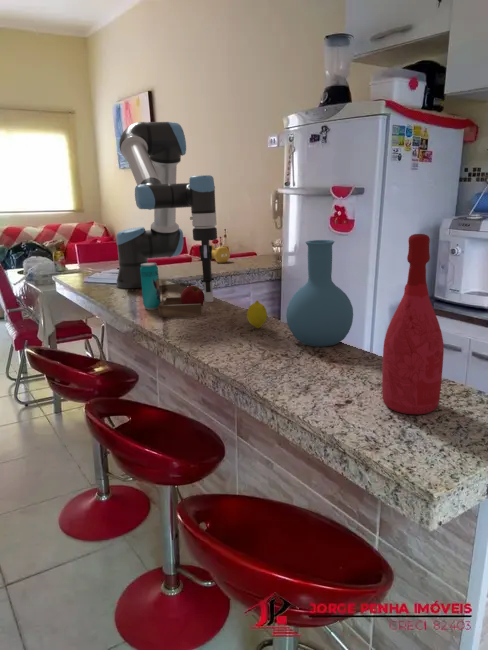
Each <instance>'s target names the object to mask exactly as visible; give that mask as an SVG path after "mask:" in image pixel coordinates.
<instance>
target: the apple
mask: <svg viewBox="0 0 488 650" xmlns="http://www.w3.org/2000/svg"><path fill="white" fill-rule="evenodd" d="M180 297H181V303H182V304H201V306H202V304H203V305H204V302H205V297H204V290H202V289H201V288H200V287H198V286H196V285H189V286H186V287H185V288H183V290H182V291H181V293H180Z"/></svg>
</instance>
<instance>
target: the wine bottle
mask: <svg viewBox="0 0 488 650" xmlns="http://www.w3.org/2000/svg"><path fill="white" fill-rule="evenodd" d="M430 242H431V241H430V237H429V235H427V234H425V233H413V234H411V235H410V236H409V238H408V253H407V256H406V259H407V262H408V264H409V267H408V274H407V281H406V282H407V283H406V284H405V286H404V290H403V291H404V293H403V296H402V298H401V300H400V303H399V304H398V306H397V308H396V309H395V312H394V313H393V316H392V318H391V320H390V322H389V325H388V327H387V330H386V333H385V336H384V341H383V349H382V351H383V353H382V372H381V373H382V382H381V383H382V386H381V387H382V392H381V395H382V401H383V404H384V405H385V406H387V407H388V408H389V409H390V410H392V411H395V412H397V413H400V414H406V415H425V414H429V413H431V412H433V411H435V410H436V409H437V407H438V406H439V402H440V397H441V390H442V389H441V387H442V379H443V378H442V377H443V367H444V350H445V349H444V345H445V344H444V336H443V333H442V329H441V326H440V323H439V320H438V317H437V315H436V312H435V310H434V307H433V304H432V302H431V299H430V296H429V290H428V289H429V288H428V283H427V266H426V265H427V263H428V262H430V260H431V256H430Z"/></svg>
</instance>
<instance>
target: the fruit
mask: <svg viewBox="0 0 488 650" xmlns="http://www.w3.org/2000/svg"><path fill="white" fill-rule="evenodd" d="M246 318H247V321H248V322H249V324H250V325H251V326H254V327H255V328H256V329H261V327H262V326H263V325H264V324H265V322H266V321H267V318H268V313H267V309H266V306H265V305H264V304H263V303H260V302H259V300H255V302H254V303H252V304H250V305H249V306H248V309H247V311H246Z"/></svg>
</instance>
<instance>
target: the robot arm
mask: <svg viewBox="0 0 488 650" xmlns="http://www.w3.org/2000/svg"><path fill="white" fill-rule="evenodd" d="M118 143H119V149H120V150H119V151H120V153H121V156H122V157H123V158H124V159H125V160H126V161H127V162H128V167H129V169H130V170H131V173H132V175H133V177H134V181H135V183H136V186H135V188H134V197H135V198H134V199H135V200H134V201H135V204H136V206H137V208H138V209H139V210H149V211H151V210H154V213H153V217H154V218H153V219H154V221H153V222H152V223H151V224H150V229H149V230H147V229H146V228H145V227H144V226H141V227H140V226H139V227H133V228H126V229H123V230H120V231H118V232H117V233H116V244H115V245H117V255H118V257H117V258H118V266H119V269H118V274H117V278H116V287H117V288H119V289H140V288H141V289H142V284H141V273H140V268H141V264H143V263H149V261H148V260H150V259H163V258H172V257H173V258H174V257H177V256H179V255H180V254H182V251H183V249H184V233H183V229H181V228H180V226H179V224H178V223H177V222H176V213H177V212H176V211H177V210H176V209H177V208H178V209H180V208H181V209H182V208H190V211H191V216H189V219H190V220H191V221H192V222H191V223H192V227H194V228H193V229H192V239H193V241H196V242H200V241H201V243H200V244H201V245H199V247H198V249H199V254H200V261H201V264H202V265H201V267H202V277H203V278H202V279H201V283H203V293H204V302H205V303H210V302H214V291H213V290H214V289H213V281H215V278H214V277H213V274H212V261H213V260H212V245H213V244H210V241H215V240H217V239H218V230H217V227H216V226H217V222H218V221H217V212H216V211H217V210H216V186H215V180H214V179H215V178H214V176H212V175H211V174H209V175H208V174H207V175H203V174H201V175H191V176H190V177H189V179H188V181H189V182H187V183H185V182H183V183H177V165H178V164H180V163H181V157H182V156H185V155H186V154H187V153H186V152H187V141H186V137H185V132H184V129H183V127H182V126H181V124H180V123H178V122H172V121H171V122H170V121H138V122H134V123H132V124H130V125H129V126H127V127H126V128H125V130H124V131H123V132H122V134H121V135H120V138H119V142H118Z"/></svg>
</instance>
